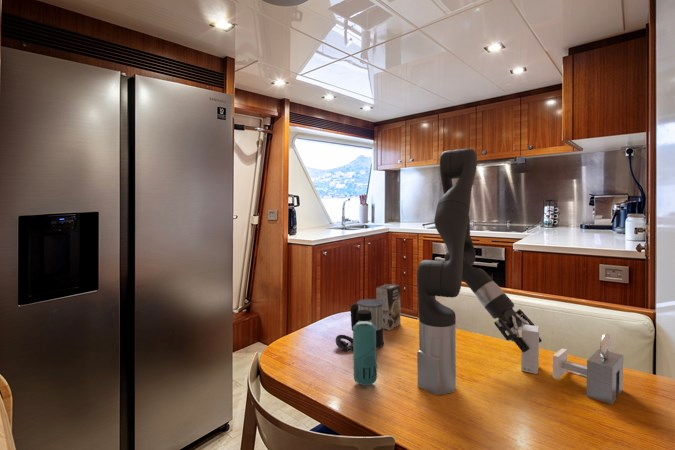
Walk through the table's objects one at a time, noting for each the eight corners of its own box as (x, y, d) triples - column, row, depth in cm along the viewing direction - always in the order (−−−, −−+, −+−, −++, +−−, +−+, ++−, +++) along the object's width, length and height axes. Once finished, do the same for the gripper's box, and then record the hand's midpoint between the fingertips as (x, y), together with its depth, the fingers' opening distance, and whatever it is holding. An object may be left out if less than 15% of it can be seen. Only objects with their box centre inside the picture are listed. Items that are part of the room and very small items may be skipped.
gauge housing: (611, 404, 81) (613, 342, 80) (542, 380, 92) (542, 325, 92) (625, 385, 89) (626, 328, 88) (560, 365, 101) (560, 315, 100)
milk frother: (388, 342, 121) (388, 300, 120) (368, 359, 108) (367, 312, 107) (353, 334, 129) (353, 295, 128) (330, 349, 115) (329, 306, 115)
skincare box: (538, 374, 96) (538, 332, 95) (521, 371, 98) (521, 329, 97) (539, 366, 101) (539, 326, 100) (522, 363, 103) (522, 323, 103)
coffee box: (390, 330, 132) (389, 289, 131) (376, 327, 136) (375, 287, 135) (401, 324, 139) (400, 284, 139) (387, 321, 143) (386, 283, 143)
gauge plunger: (604, 396, 83) (604, 370, 83) (552, 379, 92) (552, 355, 91) (616, 380, 90) (617, 356, 90) (567, 366, 99) (567, 344, 99)
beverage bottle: (361, 393, 88) (360, 316, 87) (348, 382, 94) (347, 309, 93) (382, 386, 91) (381, 312, 90) (368, 376, 97) (367, 306, 96)
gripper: (491, 296, 100) (533, 347, 92) (513, 288, 109) (553, 333, 101) (473, 310, 105) (512, 360, 96) (496, 301, 114) (533, 346, 105)
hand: (533, 346), depth 99 cm, fingers open, 8 cm apart
